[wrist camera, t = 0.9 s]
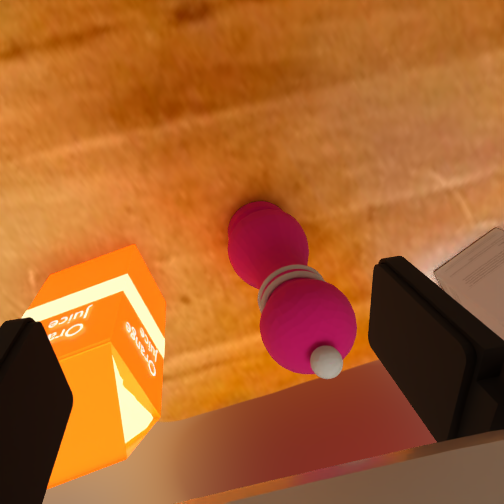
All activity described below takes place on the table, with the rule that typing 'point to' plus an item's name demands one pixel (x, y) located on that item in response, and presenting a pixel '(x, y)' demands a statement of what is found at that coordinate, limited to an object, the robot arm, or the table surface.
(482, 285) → the supplement box
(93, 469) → the orange juice
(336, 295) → the pepper mill
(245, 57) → the table surface
